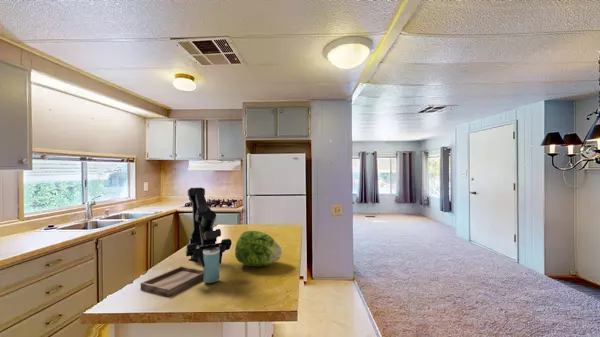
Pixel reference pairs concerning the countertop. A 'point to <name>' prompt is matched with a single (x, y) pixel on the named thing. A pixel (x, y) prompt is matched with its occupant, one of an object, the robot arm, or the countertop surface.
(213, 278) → the cup
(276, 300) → the countertop surface
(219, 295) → the countertop surface
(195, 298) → the countertop surface
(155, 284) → the tray
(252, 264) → the lettuce
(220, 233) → the robot arm
